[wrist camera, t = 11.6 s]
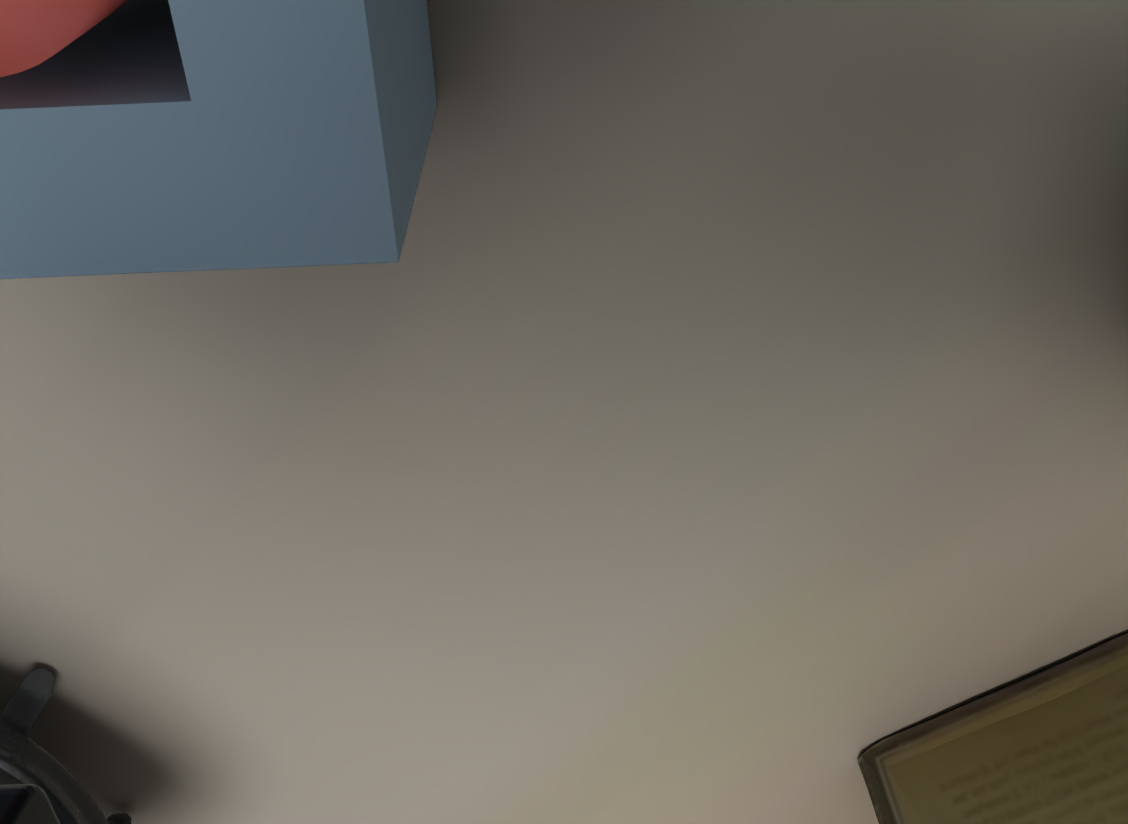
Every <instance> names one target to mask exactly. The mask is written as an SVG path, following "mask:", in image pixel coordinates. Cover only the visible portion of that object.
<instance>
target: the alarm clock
mask: <svg viewBox="0 0 1128 824" xmlns="http://www.w3.org/2000/svg"><path fill="white" fill-rule="evenodd" d="M54 683H55V677H54V675H53V674H52V673H51V672H50V671H49V670H46V669H45V668H37V669H35V670H32V671H31V672H30V673H29V674H28V675H27V676H26V677H25V678H24V680H23V682H22V683H21V685H20V686H19V688H18V689H17V691H16V692H15V693H14V695H13V696H12V697H11V699H10V700H9V702H8V703H7V705H6V706H5V708H4V709H3V711H2V712H1V713H0V785H14V784H35V785H37V786H39V787H40V788H42V789H43V790H44V791H45V793H46V795H47V797H48V799H49V801H50V803H51V805H52V807H53V809H54V811H55V814H56V816H57V818H58V820H59V822H60V824H131V818H130V816H129V815H128V814H126V813H116V814H112V815H111V816H109V817H108V819H107V820H106V818H105V816H104V815H103V813H102V812H101V811H100V809H99V808H98V806H97V805H96V803H95V802H94V800H93V799H92V798H91V797H90V795H89V794H88V793H87V792H86V790H85V789H84V788H83V787H82V786H81V784H80V783H79V782H78V781H77V780H76V779H75V778H74V776H73V775H72V774H71V773H70V772H69V771H68V770H67V769H66V768H65V767H64V766H62V765H61V764H60V763H59V762H58V761H57V760H56V759H55V758H54V757H53V756H51V755H50V754H49V753H48V752H47V751H45V750H44V749H43V748H42V747H40V746H39V745H37V744H36V743H35V742H33V741H32V740H31V739H29V738H28V733H29V731H30V730H31V728H32V726H33V725H34V723H35V720H36V719H37V717H38V715H39V714H40V712H41V711H42V709H43V707H44V706H45V704H46V702H47V701H48V699H49V697H50V696H51V694H52V692H53V687H54Z"/></svg>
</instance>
